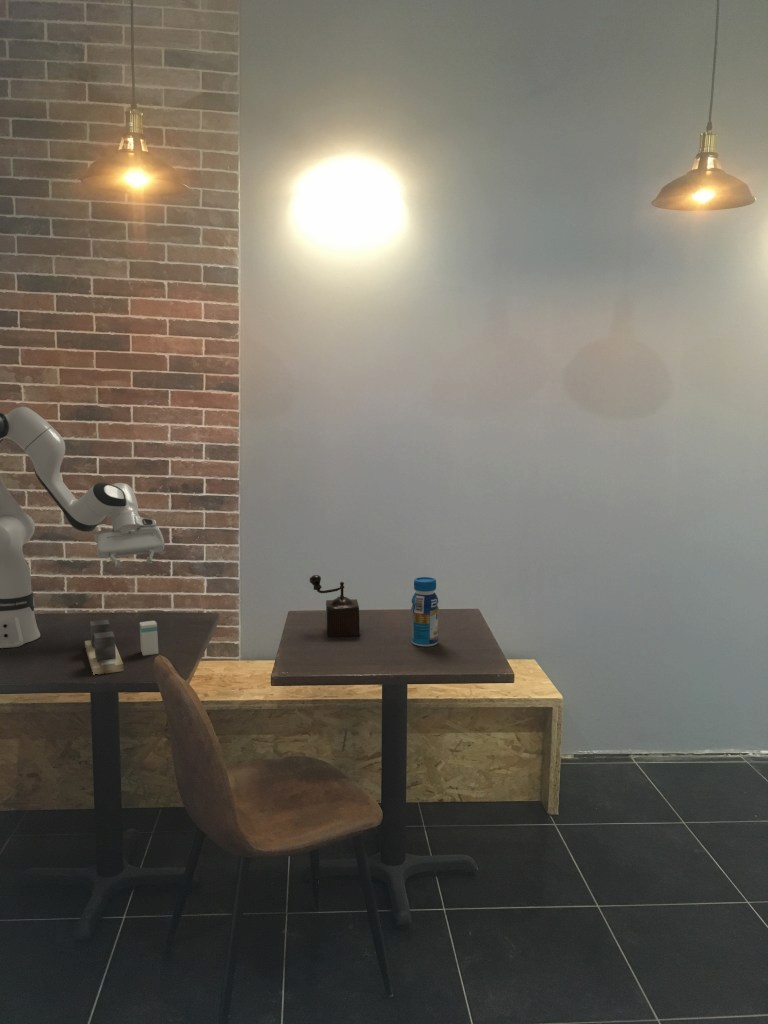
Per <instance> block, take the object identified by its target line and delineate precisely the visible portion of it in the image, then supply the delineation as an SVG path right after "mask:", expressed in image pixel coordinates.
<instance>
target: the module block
mask: <svg viewBox="0 0 768 1024" xmlns="http://www.w3.org/2000/svg"><path fill="white" fill-rule="evenodd" d="M139 633H140V634H139V636H140V637H139V638H140V652H142V653H141V654H142V656H143V657H144V656H149V655H150V656H153V655H159V642H158V641H159V638H158V623H157V621H155V620H147V621H140V622H139Z"/></svg>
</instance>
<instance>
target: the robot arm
mask: <svg viewBox="0 0 768 1024" xmlns="http://www.w3.org/2000/svg"><path fill="white" fill-rule="evenodd" d="M4 439H8V440H10V441H12V442H14V443H16V445H17V446H18V447H20V449H22V451H24V452H25V454H26V455H27V456H28V457H29V459H30V461H31V462H32V464H33V467H34V474H35V476H36V479H37V480H38V482H40V484H41V485H42V487H43V488H44V489H45V490H46V492H47V493H48V494H49V496H50V497H51V498H52V499H53V501H54V502H55V504H56V505H57V506H58V507H59V508H60V510H61V511H62V513H63V514H64V516H65V518H66V520H67V522H68V524H69V525H70V526H71V527H72V528H73V529H74V530H77V531H80V532H85V533H87V532H92V531H94V530H95V529H96V528H97V527H98V526H99V525H100V523H101V522H102V521H103V520H104V519H106V517H109V518H110V519H111V526H112V529H106V530H98V532H95V533H94V534H93V540H94V541H93V542H95V543H96V554H97V555H96V556H98V558H100V559H107V558H109V560H110V561H111V562H112V563H113V564H114V566H115V568H116V569H117V568H121V567H122V563H121V559H117V558H116V557H125V556H134V555H135V556H136V555H142V554H143V555H144V554H148V555H149V556H146V564H147V565H152V564H153V558H154V555H155V554H156V553H162V552H163V551H164V549H165V544H166V543H165V539H164V536H163V533H162V531H161V530H160V528H159V527H158V526H157V521H156V520H155V519H153V518H146V517H142V516H140V514H139V505H138V500H137V497H136V494H135V492H134V490H133V488H132V487H131V485H129V484H127V483H125V482H116V483H113V484H110V483H107V482H97V483H95V484H94V485H93V486H91V487H90V488H89V489H88V490H87V491H86V492H85V493H84V494H83V495H82V496H81V497H80V498H78V499H77V498H76V497H75V496H74V494H73V493H72V492H71V490H70V489H69V487H68V486H67V485H66V484H65V483H64V480H63V479H62V477H61V473H60V471H61V466H62V463H63V461H64V458H65V454H66V442H65V440H64V439H63V437H62V435H61V434H60V433H59V432H58V431H57V430H56V429H55V428H54V427H53V426H52V425H51V424H50V423H49V422H48V421H47V420H46V419H44V418H43V417H42V416H41V415H40V414H38V413H36V411H34V410H33V409H31V408H29V407H27V406H19V407H15V408H13V409H12V410H11V411H9V412H8V413H6V414H4V413H3V412H0V443H1V442H3V441H4ZM35 529H36V525H35V521H34V520H33V518H32V517H31V515H29V514H28V513H26V512H25V511H24V510H23V508H22V506H20V504H19V503H18V502H17V501H16V499H15V498H14V497H13V496H12V494H11V492H10V491H9V489H8V488H7V486H6V484H5V482H4V479H3V478H2V476H1V475H0V649H4V648H5V649H6V648H17V647H21V646H23V645H24V644H26V643H27V644H28V643H30V642H34V641H35V640H37V639H39V638H40V637H41V633H40V630H39V628H38V624H37V621H36V616H35V615H36V614H35V607H36V606H35V596H34V593H33V591H32V579H31V577H32V576H31V567H30V566H29V565H28V563H27V561H26V558H25V554H24V551H23V546H24V545H25V544H27V543H28V542H30V540H31V539H32V538H33V535H34V533H35Z"/></svg>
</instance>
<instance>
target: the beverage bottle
mask: <svg viewBox="0 0 768 1024" xmlns="http://www.w3.org/2000/svg"><path fill="white" fill-rule="evenodd" d="M413 590H414V591H415V592H414V594H413V595H412V597H411V604H412V605H411V607H410V613H411V637H410V638H411V639H410V640H411V643H412V645H415V646H418V647H432V646H433V647H434V646H436V645H437V644H438V643H439V611H440V609H439V606H438V604H439V598H438V595H437V594H436V592H435V591H437V579H436V578H435V577H431V576H430V577H429V576H419V577H415V578H414V580H413Z"/></svg>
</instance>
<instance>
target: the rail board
mask: <svg viewBox="0 0 768 1024" xmlns="http://www.w3.org/2000/svg"><path fill="white" fill-rule="evenodd" d="M110 626H111V625H110V621H109V619H100V620H90V621H89V630H90V631H89V632H90V640H85V641H84V649H85V648H86V649H85V652H86V654H87V658H88V663H89V665H90V668H91V672H93V673H92V675H93V676H95V674H98V675H105V674H111V673H117V672H119V673H120V672H124V671H125V670H124V662H123V660H122V658H121V655H120V653H119V650H118V648H117V645H116V637H115V634H114V632H113V631H111V630H110V629H111V628H110ZM104 673H105V674H104Z"/></svg>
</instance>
